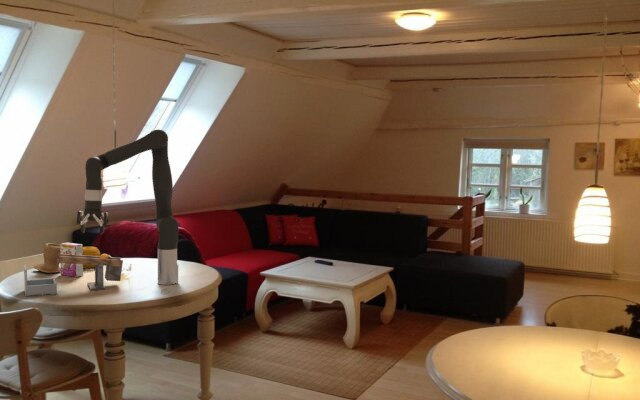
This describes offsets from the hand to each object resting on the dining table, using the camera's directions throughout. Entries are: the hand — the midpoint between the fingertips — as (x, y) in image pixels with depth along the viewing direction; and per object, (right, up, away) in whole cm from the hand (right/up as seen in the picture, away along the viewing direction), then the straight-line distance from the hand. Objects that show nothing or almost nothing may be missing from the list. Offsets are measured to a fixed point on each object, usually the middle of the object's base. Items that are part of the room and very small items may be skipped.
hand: (92, 233), depth 276 cm
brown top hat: (-34, -22, +32) cm, 52 cm away
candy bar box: (-20, -23, +24) cm, 39 cm away
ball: (+5, -12, +1) cm, 13 cm away
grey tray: (-19, -26, -11) cm, 34 cm away
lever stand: (+2, -25, 0) cm, 25 cm away
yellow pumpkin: (-20, -21, +44) cm, 53 cm away
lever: (-3, -20, +1) cm, 21 cm away
